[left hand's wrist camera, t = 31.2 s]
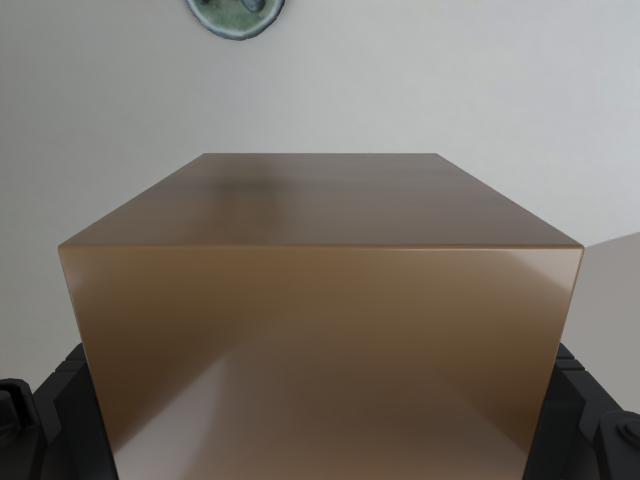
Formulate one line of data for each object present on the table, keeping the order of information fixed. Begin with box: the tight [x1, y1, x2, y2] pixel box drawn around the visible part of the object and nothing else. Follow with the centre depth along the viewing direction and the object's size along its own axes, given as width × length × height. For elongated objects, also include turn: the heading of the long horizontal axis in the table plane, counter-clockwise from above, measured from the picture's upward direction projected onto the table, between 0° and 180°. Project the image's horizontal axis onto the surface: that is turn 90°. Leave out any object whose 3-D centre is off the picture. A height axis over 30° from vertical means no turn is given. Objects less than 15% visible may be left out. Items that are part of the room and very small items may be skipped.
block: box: [58, 153, 584, 480], centre depth 12 cm, size 9×9×9 cm
